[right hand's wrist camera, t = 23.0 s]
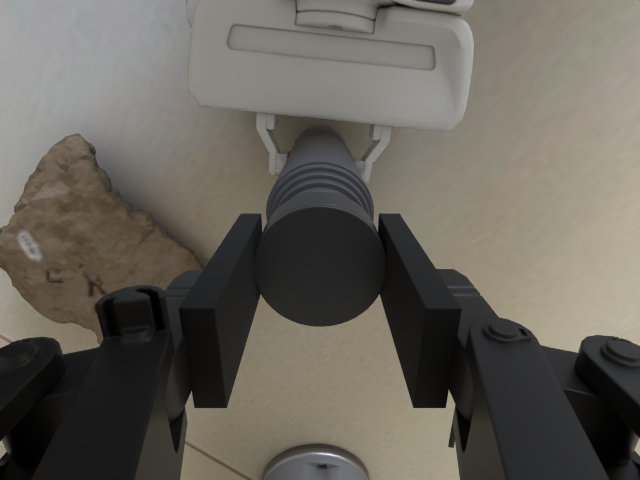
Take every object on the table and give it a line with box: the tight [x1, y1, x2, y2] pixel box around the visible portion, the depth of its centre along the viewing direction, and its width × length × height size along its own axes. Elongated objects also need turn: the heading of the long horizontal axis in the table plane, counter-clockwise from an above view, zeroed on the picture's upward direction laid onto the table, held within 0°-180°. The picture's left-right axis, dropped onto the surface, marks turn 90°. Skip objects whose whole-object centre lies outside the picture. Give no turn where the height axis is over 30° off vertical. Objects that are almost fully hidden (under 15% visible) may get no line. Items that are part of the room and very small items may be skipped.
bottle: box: [266, 127, 374, 222], centre depth 24 cm, size 5×5×25 cm
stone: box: [0, 134, 205, 344], centre depth 37 cm, size 21×15×6 cm
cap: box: [254, 191, 386, 326], centre depth 13 cm, size 4×4×2 cm
